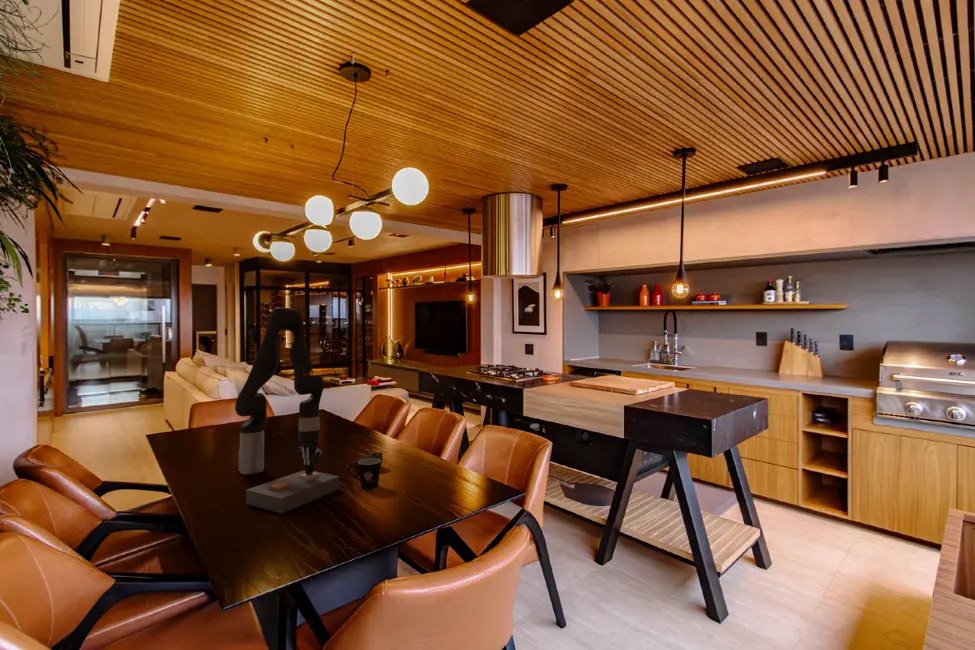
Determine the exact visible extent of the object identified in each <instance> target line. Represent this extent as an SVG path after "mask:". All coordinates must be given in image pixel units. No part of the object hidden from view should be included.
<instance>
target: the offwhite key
mask: <svg viewBox="0 0 975 650" xmlns="http://www.w3.org/2000/svg"><path fill="white" fill-rule="evenodd" d="M315 472H316V471H315ZM315 472H313V473H312V474H310V475H306V474H305V473H303V474H301V475H299V479H301V480H306V481H310V480H312V479H315V478H318V477H319V473H315Z"/></svg>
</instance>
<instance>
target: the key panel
mask: <svg viewBox="0 0 975 650" xmlns="http://www.w3.org/2000/svg"><path fill="white" fill-rule="evenodd" d="M313 472H315V473H319V477H318V478H315V479H312V480H310V481H306V480H301V479H299V475H301V474H303V473H305V469H304V470H301V471H298V472H294V473H291V474H288V475H286V476H283V477H280V478H276V479H274V480H272V481H268V482H264V483H262V484H260V485H256V486H253V487H250V488H248V489H247V488H246V489H245V504H246V505H248V506H252V507H255V508H259V509H262V508H263V510H267V511H270V510H271V512H274V513H277V512H278V513H277V514H281V513H282V514H284V513H287V512H289V511H291V509H292V510H293V508H294V509H296V508H298V506H299V507H301V506H303V504H304V505H306V504H308V503H310V502H312V501H315V500H318V499H320V498H322V496H323V497H325V496H327V495H329V493H330V494H331V492H332V493H334V492H337V491H339V490H340V476H339V475H334V474H331V473H330V474H329V473H325V472H319V471H315V470H313ZM278 482H285V483H290V484H291V486H290V488H288V489H285V490H283V491H280V492H276V491H272V490H269V485H272V484H275V483H278ZM338 489H339V490H338ZM336 490H337V491H336ZM333 491H334V492H333ZM326 494H327V495H326ZM324 495H325V496H324ZM300 505H301V506H300ZM295 507H296V508H295ZM288 510H289V511H288ZM286 511H287V512H286Z"/></svg>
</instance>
